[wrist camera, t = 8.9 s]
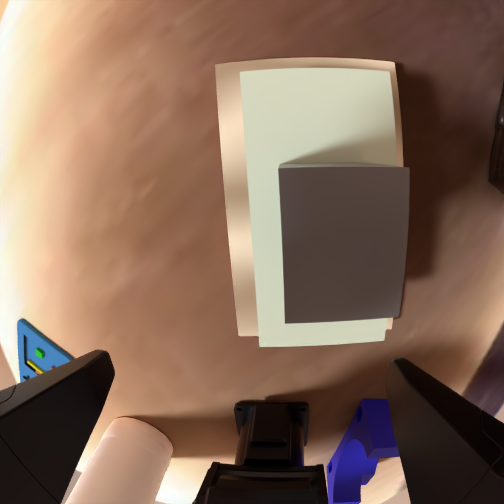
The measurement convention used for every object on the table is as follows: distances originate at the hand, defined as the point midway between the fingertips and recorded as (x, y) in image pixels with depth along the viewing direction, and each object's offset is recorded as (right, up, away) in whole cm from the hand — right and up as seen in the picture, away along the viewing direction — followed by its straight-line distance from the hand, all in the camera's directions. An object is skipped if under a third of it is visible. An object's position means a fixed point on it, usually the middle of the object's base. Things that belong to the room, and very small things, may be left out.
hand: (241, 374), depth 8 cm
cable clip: (+12, -15, +17) cm, 25 cm away
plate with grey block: (+4, +6, +6) cm, 9 cm away
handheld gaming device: (-25, -11, +20) cm, 33 cm away
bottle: (-12, -18, +20) cm, 29 cm away
